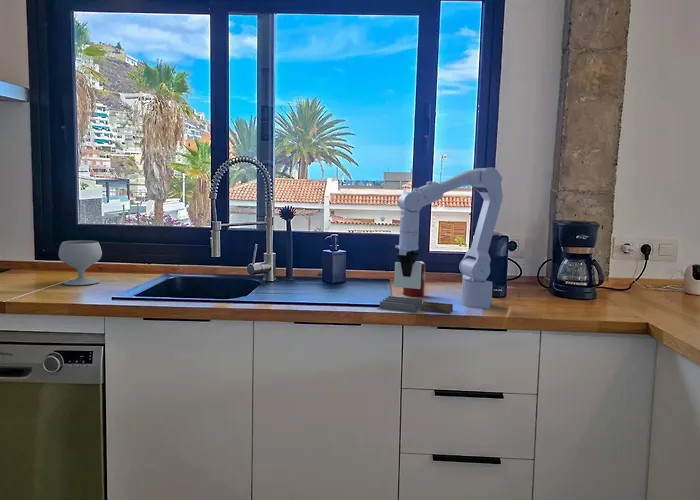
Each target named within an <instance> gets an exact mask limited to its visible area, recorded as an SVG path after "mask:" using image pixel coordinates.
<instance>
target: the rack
mask: <svg viewBox="0 0 700 500" xmlns="http://www.w3.org/2000/svg"><path fill="white" fill-rule="evenodd" d="M421 303H423V298H417V297H407V296H404V297H403V296H397V295H396V296H395V295H394V296H393V295H389V296H388V297H385V299H382V301H381V300H380V301H379V307H377V308H376V309H377V310H380V311H390V312H398V313H399V312H401V313H408V314H409V313H410V314H416V313H418V311H420V310H421Z"/></svg>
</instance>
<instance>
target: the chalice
mask: <svg viewBox="0 0 700 500" xmlns="http://www.w3.org/2000/svg"><path fill="white" fill-rule="evenodd" d="M102 256H103V252H102V248H101V245H100V243H99V241H98V240H89V239H88V240H86V239H84V240H83V239H81V240H66V241H62V242H61V244H60V245H59V249H58V258H59V260H60V261H61V262H63V264H65V265H68V266H70V267H71V268H74V269H75V270H76V271H77V272H78V275H77V277H76V278H72V279H69V280H65V281H63V282H62V284H63V285H66V286H89V285H90V286H91V285H95V284H99V283H100V282H101V280H99V279H97V278H88V277H86V275H85V272H86V269H88V268H89V267H91V266H92V265H94V264H96V263H98V261H100V260H101V259H102Z"/></svg>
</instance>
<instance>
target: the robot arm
mask: <svg viewBox="0 0 700 500" xmlns="http://www.w3.org/2000/svg"><path fill="white" fill-rule="evenodd" d="M502 181H503V176H502V174H500V172H499V170H498V169H497V168H495V167H492V166H491V167H490V166H489V167H482V168H481V167H480V168H479V167H476V168H473V169H468V170H464V171H462V172H461V173H458V174H457V175H455V176H452V177H451V178H449V179H446V180H444V181H442V182H440V183H439V182H437V181H431V180H430V181H427V182H426V183H425V185H422V186H420V187H414V188H412V191H411V192H410V191H405V192H403V193H402V194H401V195H400V197H399V199H398V200H397V205H398V207H399V209H400V217H399V220H400V221H399V240H398V241H399V242H398V244H395V249H398V250H399V252H397V258H398V260H399V262H400V263H401V268H402V274H403V276H404V277H410V275H411V271H412V266H413V263H415V262H416V261H417V259H418V257H419V256H420V253H419V252H416V251H418V250H419V249H420V247H419V237H420V235H419V234H420V231H419V230H420V228H419V227H420V211H421V210H422V208H423V207H425V206H427V205H430V204H432V203H435V202H437V201H440V200H441V199H442V198H443V196H444V194H445V193H447V192H451V191H453V190H455V189H458V188H461V187H464V186H470V187H472V188H473V189H474V190H476V192H477V193H479V195H480V196H481V198H482V199H483V201H482V206H481V209H480V213H479V216H478V220H477V223H476V227H475V232H474V235H473V238H472V242H471V247H470V248H469V249H468V250H466V252H465V255H464V256H463V258H462V259H461V261H460V262H459V266H458V267H459V268H458V269H459V272H460V273H461V274H462V278H461V280H462V282H461V283H462V284H461V296H460V297H461V300H460V301H461V302H460V303H461V304H460V305H462V306H463V307H467V308H475V309H476V308H479V309H488V310H489V309H490V308H491V306H492V303H493V281H490V280H487V279H488V277H489V276H490V274H491V266H490V265H491V261H492V259H491V256H490V254H489V249H490V246H491V242H492V239H493V235H494V230H495V227H496V224H497V220H498V217H499V214H500V213H499V212H500V210H501V206H502V203H503V199H504V198H503V197H504V196H503V195H504V194H503V190H502ZM414 251H415V252H414Z"/></svg>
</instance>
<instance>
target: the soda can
mask: <svg viewBox="0 0 700 500" xmlns="http://www.w3.org/2000/svg"><path fill="white" fill-rule="evenodd" d="M415 264H422V265H421V286H420V289H414V288H404V287H402V296H404V297H408V298H422V297H424V296H425V284H426V283H425V282H426V263H425V262H424V261H419V260H418V261H417V260H416V262H415Z"/></svg>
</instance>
